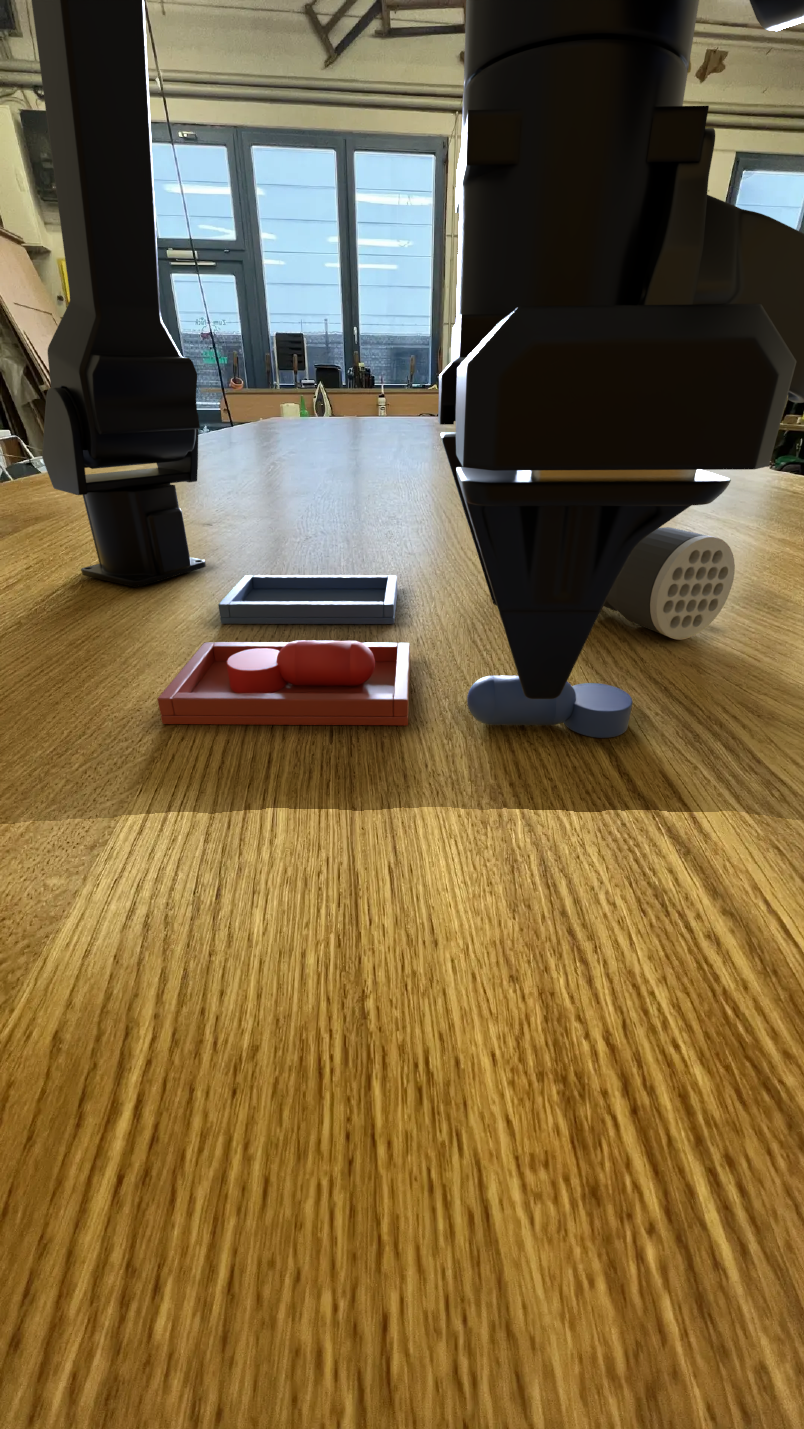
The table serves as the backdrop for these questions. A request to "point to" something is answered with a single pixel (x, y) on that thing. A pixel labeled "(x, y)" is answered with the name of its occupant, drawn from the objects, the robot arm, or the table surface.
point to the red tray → (287, 693)
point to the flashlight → (674, 582)
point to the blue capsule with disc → (552, 706)
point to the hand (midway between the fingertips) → (520, 643)
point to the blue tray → (311, 600)
